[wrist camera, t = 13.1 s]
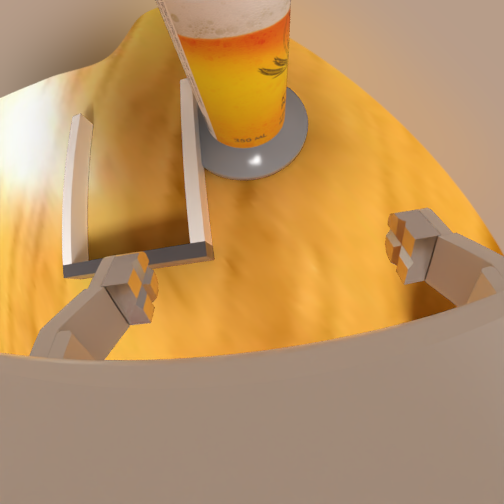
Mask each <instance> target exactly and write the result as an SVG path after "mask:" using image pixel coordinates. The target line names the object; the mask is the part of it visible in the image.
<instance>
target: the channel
mask: <svg viewBox="0 0 504 504" xmlns="http://www.w3.org/2000/svg"><path fill="white" fill-rule="evenodd" d="M180 97H181V127H182V148H183V164H184V179H185V192H186V204H187V215H188V226H189V236H190V244H184V245H177V246H171V247H165V248H159V249H153V250H147V251H143V252H144V253H146V255H147V257H148V259H149V263H148V267H149V268H150V269H155V268H162V267H169V266H175V265H182V264H189V263H196V262H203V261H209V260H214V253H213V245H212V237H211V228H210V219H209V211H208V201H207V192H206V182H205V172H204V167H203V165H202V160H201V148H200V136H199V123H198V109H197V100H196V98H195V95H194V93H193V91H192V88H191V86H190V83H189V81H188V78H186V79H181V80H180ZM92 132H93V124H92V123H91V122H90V121H89V120H88V119H86V118H85V117H84V116H83V115H82V114H81V113H80V114H78V115H75V116H73V118H72V123H71V129H70V135H69V142H68V149H67V157H66V166H65V176H64V189H63V209H62V254H63V274H64V278H71V279H86V278H93V277H94V275H95V273H96V271H97V269H98V267H99V265H100V263H101V261H102V259H103V258H101V259H95V260H90V261H89V256H88V227H87V206H88V177H89V162H90V150H91V140H92Z"/></svg>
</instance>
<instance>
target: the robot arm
mask: <svg viewBox="0 0 504 504" xmlns="http://www.w3.org/2000/svg"><path fill="white" fill-rule="evenodd" d="M388 226H389V227H390V229H391V230H390V231H389V232H388V234H387V235H386V241H385V247H386V253H387V256H388V258H389V260H390V262H391V263H393V264H395V265H397V269H396V272H397V273H398V275H399V277H400V279H401V280H402V282H403V284H404V285H405V284H410V283H415V282H420V281H425V282H426V283H427V284H429V285H430V286H431V287H433V288H434V289H435V290H437V291H438V292H439V293H441V294H442V295H443V296H445V297H446V298H447V299H448V300H450V301H451V302H452V303H454V304H455V305H456V306H457V307H456V308H453V309H450V310H447V311H444V312H441V313H437V314H434V315H431V316H427V317H424V318H420V319H417V320H413V321H410V322H406V323H402V324H398V325H394V326H390V327H386V328H382V329H378V330H374V331H369V332H365V333H360V334H356V335H351V336H346V337H341V338H336V339H331V340H326V341H321V342H315V343H309V344H304V345H297V346H291V347H285V348H278V349H271V350H263V351H256V352H247V353H239V354H229V355H219V356H207V357H194V358H179V359H158V360H104V359H105V358H106V357H107V355H108V354H109V353H110V351H111V350H112V349H113V347H114V346H115V345H116V343H117V342H118V341H119V339H120V338H121V337H122V335H123V334H124V333H125V332H126V330H127V329H128V328H129V325H135V324H145V323H151V321H152V317H153V313H154V308H155V307H154V305H153V304H152V302H153V301H154V300H155V299H156V298H157V296H158V281H157V277H156V274H155V272H154V271H153V270H152V269H150V268H149V267H148V263H149V259H148V257H147V255H146V253H144V252H143V251H139V252H133V253H126V254H120V255H113V256H108V257H105V258H103V259H102V261H101V263H100V265H99V267H98V269H97V271H96V273H95V275H94V277H93V279H92V281H91V283H90V285H89V287H88V289H84V290H83V291H82V292H81V293H80V294H79V295H77V296H76V297H75V298H74V299H73V300H72V301H71V302H70V303H69V304H67V305H66V306H65V307H64V308H63V309H62V310H61V311H60V312H59V313H58V314H57V315H56V316H54V317H53V318H52V319H51V320H50V321H49V322H48V323H47V324H46V325H45V326H44V327H43V328H42V329H41V330H40V332H39V334H38V336H37V339H36V341H35V343H34V346H33V348H32V351H31V353H30V356H24V355H15V354H6V353H0V504H504V257H503V256H501V255H500V254H498V253H496V252H494V251H492V250H490V249H488V248H486V247H484V246H482V245H480V244H478V243H476V242H474V241H472V240H470V239H468V238H466V237H464V236H462V235H460V234H458V233H452V232H451V230H450V229H449V228H448V227H447V226H446V225H445V224H444V223H443V222H442V221H441V220H440V218H439V217H438V216H437V215H436V214H435V213H434V212H433V211H432V210H431V209H429V208H423V209H417V210H412V211H405V212H399V213H392V214H390V216H389V218H388Z"/></svg>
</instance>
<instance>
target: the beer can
mask: <svg viewBox="0 0 504 504" xmlns="http://www.w3.org/2000/svg"><path fill="white" fill-rule="evenodd" d="M155 1H156V3H157V5H158V8H159V10H160V13H161V15H162V18H163V20H164V22H165V25H166V27H167V30H168V32H169V34H170V37H171V39H172V42H173V44H174V47H175V49H176V51H177V54H178V56H179V59H180V61H181V64H182V66H183V69H184V71H185V73H186V76H187V78H188V81H189V83H190V86H191V88H192V91H193V93H194V95H195V98H196V100H197V103H198V105H199V108H200V110H201V113H202V115H203V118H204V120H205V123H206V125H207V127H208V130H209V132H210V133H211V135H212V136H213V137H214V138H215V139H216V140H217V141H219V142H220V143H222V144H224V145H227V146H230V147H234V148H252V147H256V146H260V145H262V144H264V143H266V142H268V141H270V140H271V139H272V138H274V137H275V136H276V135H277V134H278V133H279V131H280V130H281V128H282V126H283V123H284V119H285V106H286V90H287V72H288V53H289V32H290V7H291V0H155Z"/></svg>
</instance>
